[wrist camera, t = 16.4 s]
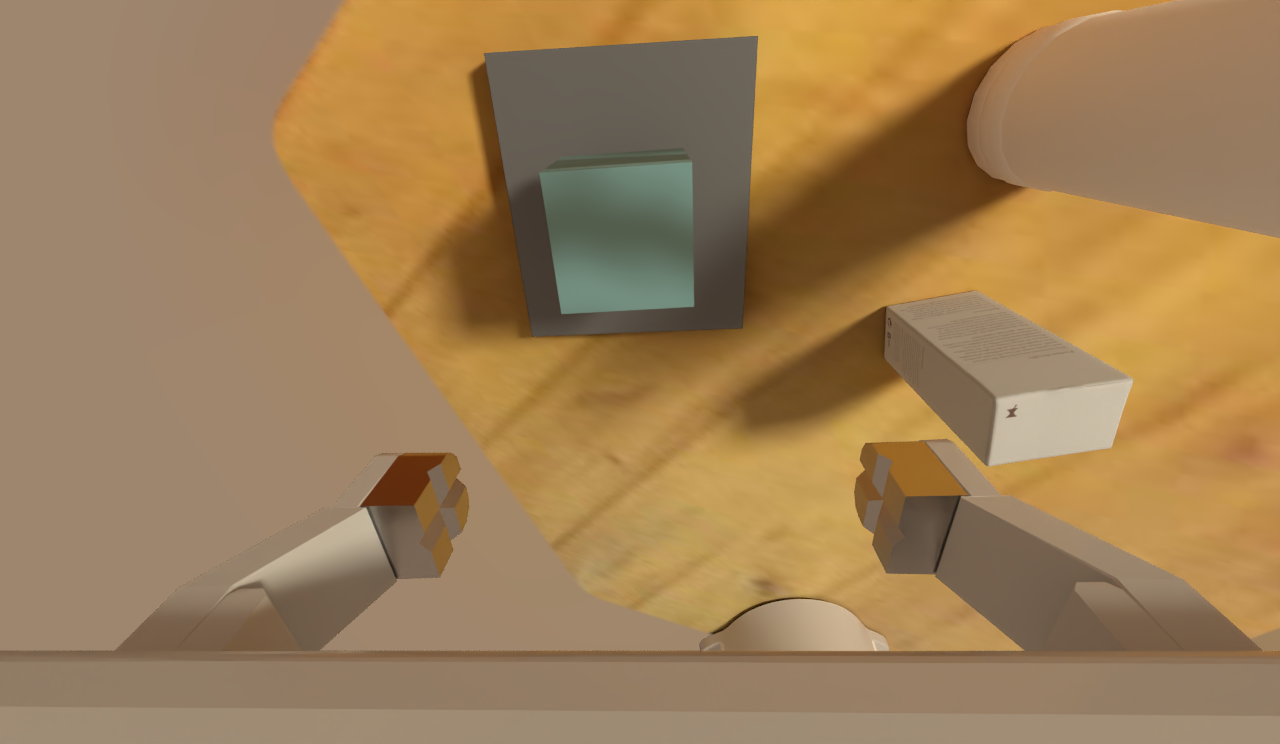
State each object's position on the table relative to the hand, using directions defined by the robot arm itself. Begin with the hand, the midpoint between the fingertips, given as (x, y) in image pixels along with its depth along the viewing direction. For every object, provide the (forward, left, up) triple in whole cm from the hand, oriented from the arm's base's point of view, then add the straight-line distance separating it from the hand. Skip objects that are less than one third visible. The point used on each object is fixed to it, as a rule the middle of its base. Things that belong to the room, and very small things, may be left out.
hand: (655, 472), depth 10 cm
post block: (+1, +1, -24) cm, 24 cm away
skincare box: (-8, -19, -24) cm, 31 cm away
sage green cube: (+1, +1, -20) cm, 20 cm away
